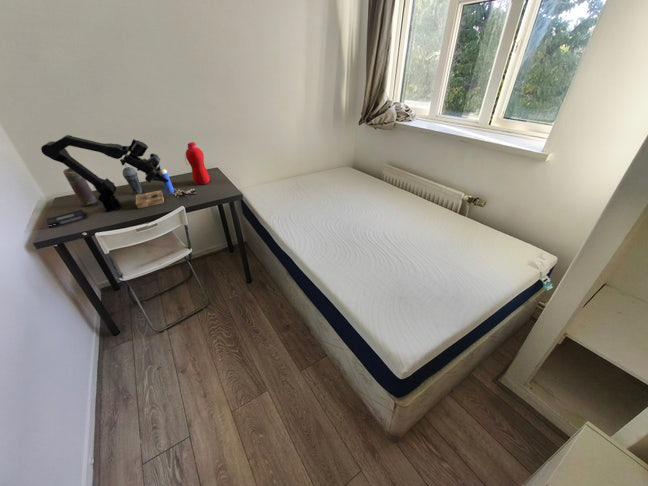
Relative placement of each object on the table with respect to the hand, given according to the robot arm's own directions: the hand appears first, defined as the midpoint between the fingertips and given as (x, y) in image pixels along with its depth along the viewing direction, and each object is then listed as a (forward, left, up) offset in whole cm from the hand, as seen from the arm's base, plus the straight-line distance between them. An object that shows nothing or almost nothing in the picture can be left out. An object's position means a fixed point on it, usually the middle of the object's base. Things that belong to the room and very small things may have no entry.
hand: (168, 179), depth 151 cm
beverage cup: (-19, +21, -12) cm, 31 cm away
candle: (-43, +18, -12) cm, 48 cm away
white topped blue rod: (-1, 0, -7) cm, 7 cm away
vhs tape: (-51, +2, -12) cm, 53 cm away
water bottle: (+17, +17, -12) cm, 26 cm away
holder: (-13, +3, -11) cm, 17 cm away
